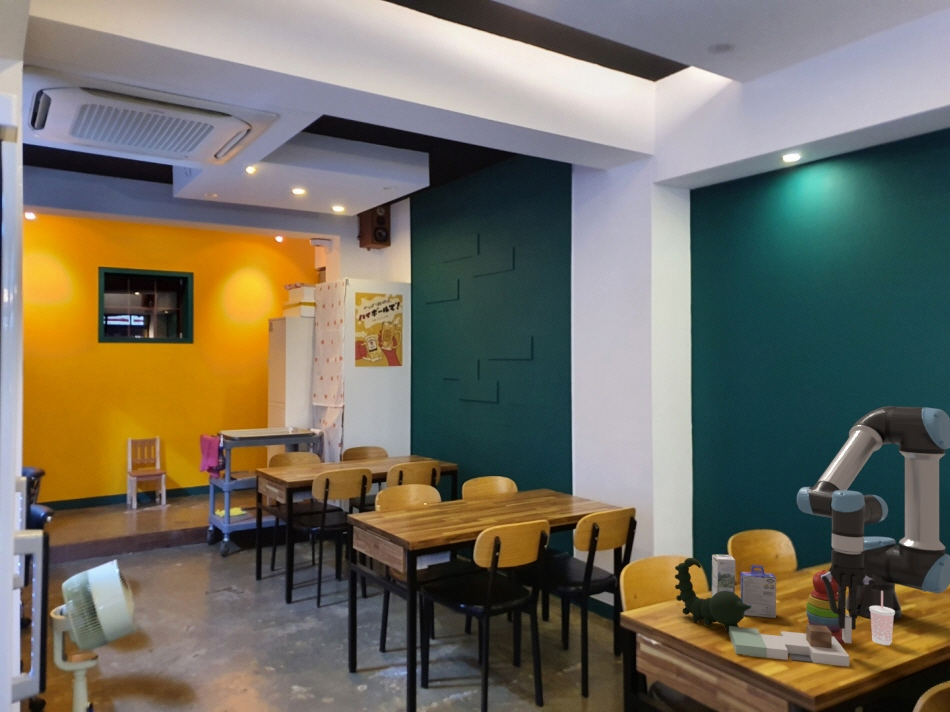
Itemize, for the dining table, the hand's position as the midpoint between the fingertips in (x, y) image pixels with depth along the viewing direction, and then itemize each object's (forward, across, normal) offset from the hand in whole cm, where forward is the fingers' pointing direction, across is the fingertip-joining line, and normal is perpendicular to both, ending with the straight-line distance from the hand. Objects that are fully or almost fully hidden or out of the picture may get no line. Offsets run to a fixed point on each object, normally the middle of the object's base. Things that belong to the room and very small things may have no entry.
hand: (846, 641), depth 181 cm
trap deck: (+4, +15, 0) cm, 15 cm away
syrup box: (+4, +26, -38) cm, 46 cm away
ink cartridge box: (+4, +17, -28) cm, 33 cm away
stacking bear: (+4, +1, -15) cm, 16 cm away
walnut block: (+2, +7, 0) cm, 7 cm away
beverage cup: (+4, -13, -14) cm, 19 cm away
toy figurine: (+4, +32, -14) cm, 35 cm away
